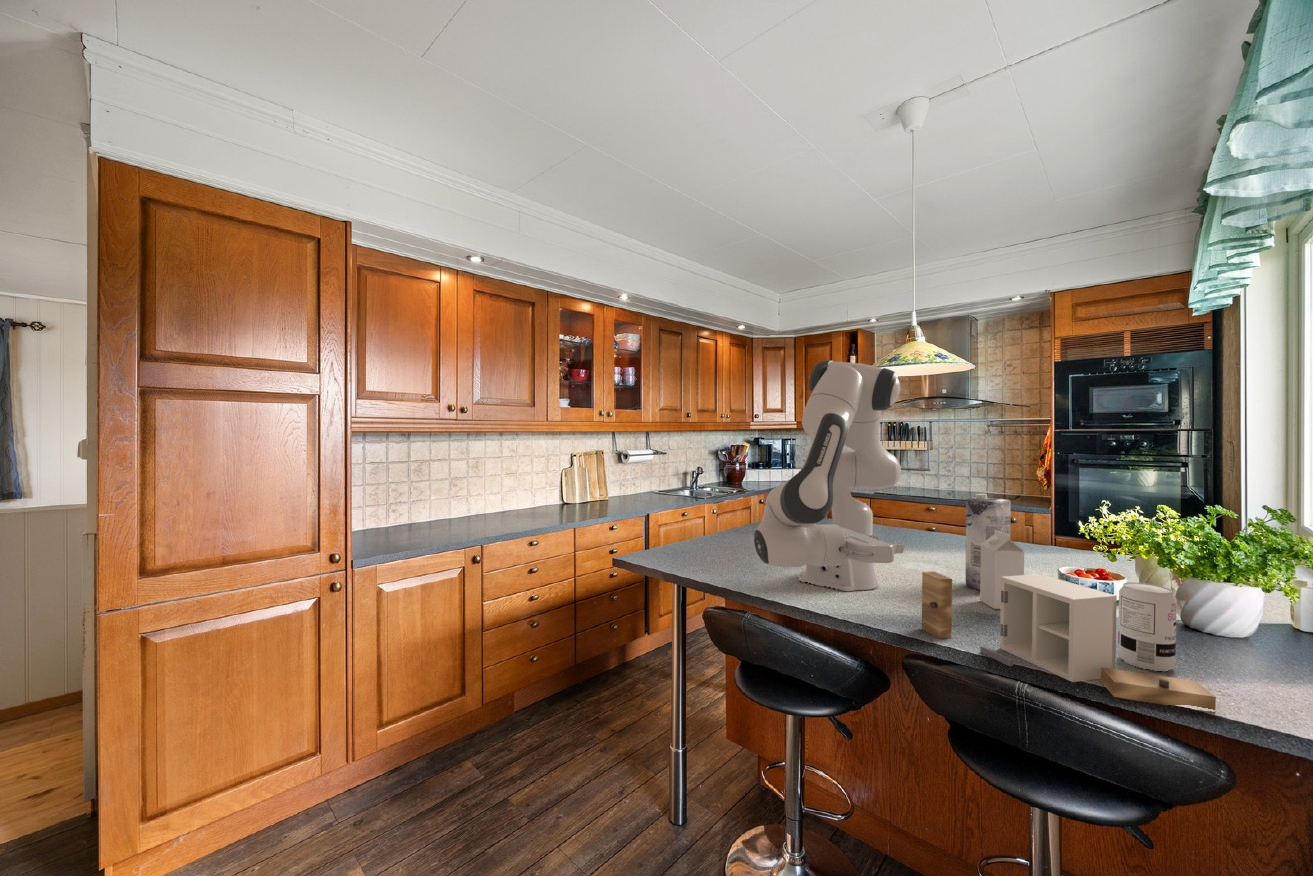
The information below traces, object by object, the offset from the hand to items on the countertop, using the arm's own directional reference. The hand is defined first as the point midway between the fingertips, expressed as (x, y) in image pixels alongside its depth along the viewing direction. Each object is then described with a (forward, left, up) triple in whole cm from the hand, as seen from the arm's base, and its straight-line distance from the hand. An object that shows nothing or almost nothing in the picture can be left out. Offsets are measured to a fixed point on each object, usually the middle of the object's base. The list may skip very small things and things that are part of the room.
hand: (888, 543), depth 117 cm
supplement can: (+45, +11, -21) cm, 51 cm away
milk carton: (+22, +37, -21) cm, 48 cm away
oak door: (+9, +7, -20) cm, 23 cm away
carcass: (+28, +1, -20) cm, 35 cm away
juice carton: (+19, +53, -21) cm, 60 cm away
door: (+43, -5, -21) cm, 48 cm away
